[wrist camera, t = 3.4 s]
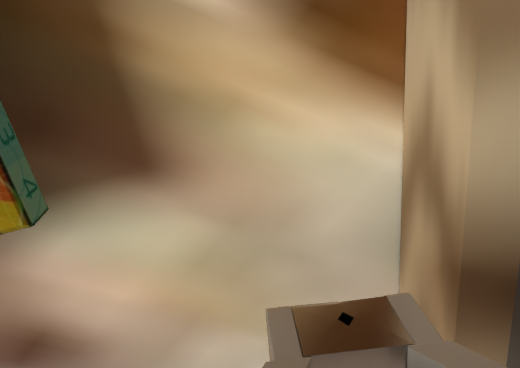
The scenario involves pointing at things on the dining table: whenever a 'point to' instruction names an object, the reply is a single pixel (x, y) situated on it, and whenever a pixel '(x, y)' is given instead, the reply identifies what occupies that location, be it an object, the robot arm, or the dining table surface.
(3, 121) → the puzzle game
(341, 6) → the dining table surface
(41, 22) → the dining table surface
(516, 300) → the slate tile
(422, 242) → the pine board
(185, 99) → the dining table surface
